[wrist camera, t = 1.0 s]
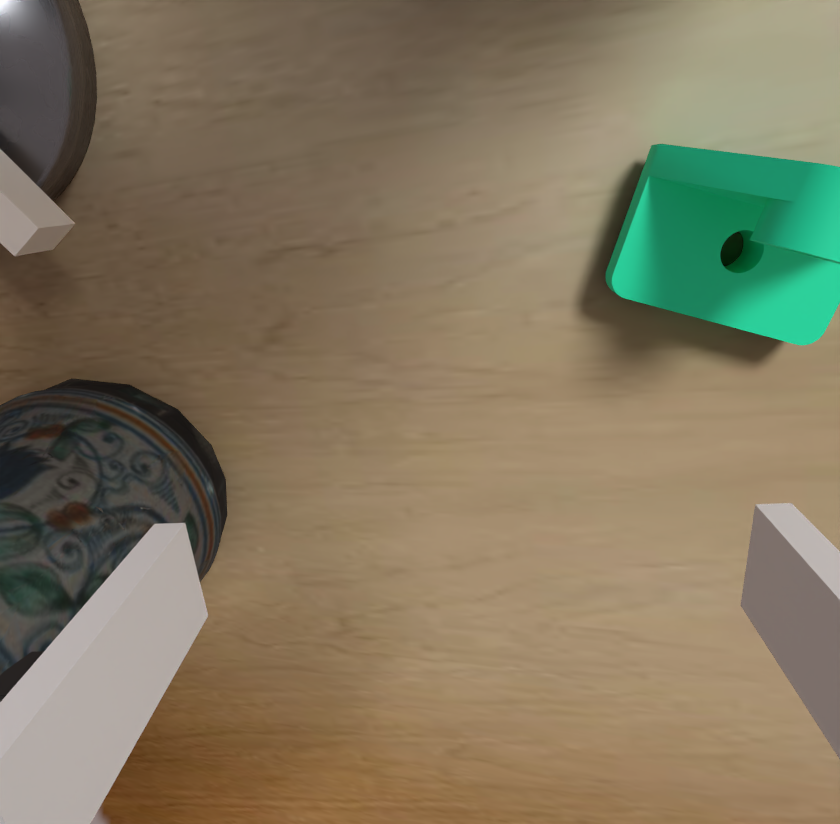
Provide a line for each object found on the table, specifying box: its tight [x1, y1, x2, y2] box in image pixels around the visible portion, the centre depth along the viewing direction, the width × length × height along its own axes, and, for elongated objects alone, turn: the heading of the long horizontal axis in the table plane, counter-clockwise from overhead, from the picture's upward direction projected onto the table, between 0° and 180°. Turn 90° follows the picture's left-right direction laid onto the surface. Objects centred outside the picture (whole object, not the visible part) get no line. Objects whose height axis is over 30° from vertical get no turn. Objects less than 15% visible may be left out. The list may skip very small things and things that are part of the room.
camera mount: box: [606, 144, 840, 345], centre depth 29 cm, size 12×8×10 cm, turn 76°
